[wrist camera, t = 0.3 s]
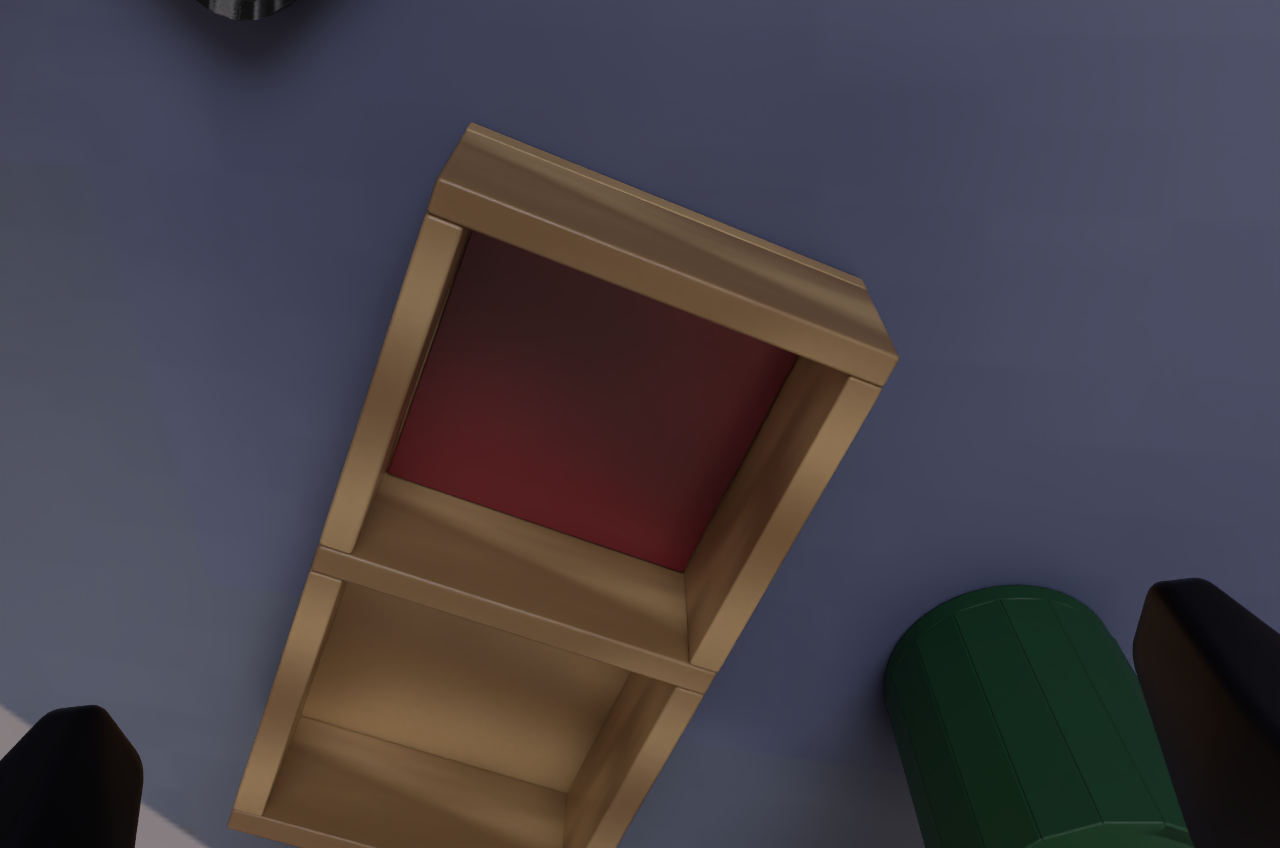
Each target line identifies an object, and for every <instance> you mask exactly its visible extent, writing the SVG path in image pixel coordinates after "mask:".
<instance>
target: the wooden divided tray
mask: <svg viewBox="0 0 1280 848" xmlns="http://www.w3.org/2000/svg"><path fill="white" fill-rule="evenodd" d="M427 209H428V211H427V213H426V215H425V216H424V219H423V223H422V226H421V229H420V232H419V235H418V238H417V241H416V244H415V247H414V250H413V253H412V256H411V260H410V263H409V266H408V269H407V272H406V275H405V278H404V281H403V284H402V287H401V290H400V294H399V297H398V300H397V303H396V306H395V309H394V312H393V315H392V318H391V321H390V324H389V328H388V331H387V334H386V337H385V340H384V343H383V346H382V349H381V352H380V355H379V358H378V362H377V365H376V368H375V371H374V374H373V377H372V380H371V383H370V386H369V389H368V392H367V395H366V399H365V402H364V405H363V408H362V411H361V414H360V417H359V420H358V423H357V426H356V429H355V433H354V436H353V439H352V442H351V445H350V448H349V451H348V454H347V457H346V460H345V463H344V467H343V470H342V473H341V476H340V479H339V482H338V485H337V488H336V491H335V494H334V497H333V500H332V504H331V507H330V510H329V513H328V516H327V519H326V522H325V525H324V528H323V531H322V534H321V538H320V542H319V545H318V547H317V550H316V553H315V556H314V559H313V562H312V565H311V569H310V571H309V574H308V577H307V580H306V583H305V587H304V590H303V593H302V596H301V599H300V602H299V605H298V608H297V611H296V614H295V617H294V621H293V624H292V627H291V630H290V633H289V636H288V639H287V642H286V645H285V648H284V651H283V655H282V658H281V661H280V664H279V667H278V670H277V673H276V676H275V679H274V682H273V685H272V689H271V692H270V695H269V698H268V701H267V704H266V707H265V710H264V713H263V716H262V719H261V723H260V726H259V729H258V732H257V735H256V738H255V741H254V744H253V747H252V750H251V753H250V756H249V760H248V763H247V766H246V769H245V772H244V775H243V778H242V781H241V784H240V787H239V790H238V794H237V797H236V800H235V803H234V806H233V809H232V812H231V815H230V818H229V821H228V825H227V826H228V828H230V829H233V830H237V831H241V832H245V833H248V834H252V835H256V836H259V837H263V838H267V839H271V840H274V841H278V842H282V843H286V844H289V845H293V846H297V847H300V848H616V847H617V845H618V844H619V842H620V840H621V838H622V837H623V835H624V833H625V831H626V830H627V828H628V826H629V825H630V823H631V821H632V819H633V818H634V816H635V814H636V812H637V811H638V809H639V807H640V806H641V804H642V802H643V800H644V799H645V797H646V795H647V793H648V792H649V790H650V788H651V787H652V785H653V783H654V781H655V780H656V778H657V776H658V775H659V773H660V771H661V769H662V768H663V766H664V764H665V762H666V761H667V759H668V757H669V756H670V754H671V752H672V750H673V749H674V747H675V745H676V743H677V742H678V740H679V738H680V737H681V735H682V733H683V731H684V730H685V728H686V726H687V724H688V723H689V721H690V719H691V718H692V716H693V714H694V712H695V711H696V709H697V707H698V706H699V704H700V702H701V700H702V699H703V697H704V694H705V693H706V691H707V690H708V688H709V686H710V685H711V683H712V681H713V679H714V678H715V676H716V672H719V670H720V668H721V667H722V665H723V663H724V661H725V660H726V658H727V656H728V654H729V653H730V651H731V649H732V648H733V646H734V644H735V642H736V641H737V639H738V637H739V635H740V634H741V632H742V630H743V629H744V627H745V625H746V623H747V622H748V620H749V618H750V617H751V615H752V613H753V611H754V610H755V608H756V606H757V604H758V603H759V601H760V599H761V598H762V596H763V594H764V592H765V591H766V589H767V587H768V586H769V584H770V582H771V580H772V579H773V577H774V575H775V573H776V572H777V570H778V568H779V567H780V565H781V563H782V561H783V560H784V558H785V556H786V554H787V553H788V551H789V549H790V548H791V546H792V544H793V542H794V541H795V539H796V537H797V536H798V534H799V532H800V530H801V529H802V527H803V525H804V523H805V522H806V520H807V518H808V517H809V515H810V513H811V511H812V510H813V508H814V506H815V504H816V503H817V501H818V499H819V498H820V496H821V494H822V492H823V491H824V489H825V487H826V486H827V484H828V482H829V480H830V479H831V477H832V475H833V473H834V472H835V470H836V468H837V467H838V465H839V463H840V461H841V460H842V458H843V456H844V454H845V453H846V451H847V449H848V448H849V446H850V444H851V442H852V441H853V439H854V437H855V436H856V434H857V432H858V430H859V429H860V427H861V425H862V423H863V422H864V420H865V418H866V417H867V415H868V413H869V411H870V410H871V408H872V406H873V404H874V403H875V401H876V399H877V398H878V396H879V394H880V392H881V390H882V388H881V386H883V385H884V384H885V383H886V381H887V379H888V377H889V376H890V374H891V372H892V371H893V369H894V367H895V365H896V364H897V362H898V360H899V356H898V354H897V352H896V350H895V348H894V345H893V343H892V341H891V339H890V337H889V335H888V333H887V331H886V329H885V327H884V325H883V323H882V321H881V319H880V316H879V314H878V312H877V310H876V308H875V306H874V304H873V302H872V300H871V298H870V296H869V294H868V292H867V291H866V290H867V288H866V286H865V284H864V282H863V280H862V279H860V278H857V277H855V276H852V275H850V274H847V273H845V272H843V271H840V270H838V269H835V268H833V267H830V266H828V265H825V264H823V263H820V262H818V261H815V260H813V259H810V258H808V257H805V256H803V255H800V254H798V253H795V252H793V251H790V250H788V249H785V248H783V247H780V246H778V245H775V244H773V243H770V242H768V241H766V240H763V239H761V238H758V237H756V236H753V235H751V234H748V233H746V232H743V231H741V230H738V229H736V228H733V227H731V226H728V225H726V224H723V223H721V222H718V221H716V220H713V219H711V218H708V217H706V216H703V215H701V214H698V213H696V212H694V211H691V210H689V209H686V208H684V207H681V206H679V205H676V204H674V203H671V202H669V201H666V200H664V199H661V198H659V197H656V196H654V195H651V194H649V193H646V192H644V191H641V190H639V189H636V188H634V187H631V186H629V185H626V184H624V183H621V182H619V181H617V180H614V179H612V178H609V177H607V176H604V175H602V174H599V173H597V172H594V171H592V170H589V169H587V168H584V167H582V166H579V165H577V164H574V163H572V162H569V161H567V160H564V159H562V158H559V157H557V156H554V155H552V154H549V153H547V152H545V151H542V150H540V149H537V148H535V147H532V146H530V145H527V144H525V143H522V142H520V141H517V140H515V139H512V138H510V137H507V136H505V135H502V134H500V133H497V132H495V131H492V130H490V129H487V128H485V127H482V126H480V125H477V124H475V123H470V124H469V125H468V127H467V129H466V130H465V133H464V134H463V136H462V138H461V139H460V141H459V143H458V144H457V146H456V148H455V149H454V151H453V153H452V154H451V156H450V158H449V159H448V161H447V163H446V164H445V166H444V168H443V169H442V171H441V173H440V174H439V176H438V178H437V179H436V182H435V185H434V189H433V192H432V195H431V198H430V201H429V204H428V207H427Z"/></svg>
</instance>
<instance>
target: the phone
mask: <svg viewBox="0 0 1280 848" xmlns="http://www.w3.org/2000/svg"><path fill="white" fill-rule="evenodd" d="M196 1H198V2H199V3H200V4H202V5H203V6H205V7H206V8H207V9H209V10H210V11H212V12H213V13H215V14H218V15H221V16H224V17H227V18H230V19H232V20H257V19H260V18H263V17H266V16H269V15H272V14H274V13H276V12H278V11H280V10H282V9H284V8H286V7H288V6H290V5H291V4H292V3H293V2H295V1H296V0H196Z"/></svg>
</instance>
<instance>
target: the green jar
mask: <svg viewBox="0 0 1280 848" xmlns="http://www.w3.org/2000/svg"><path fill="white" fill-rule="evenodd" d="M885 695H886V701H887V704H888V707H887V708H888V714H889V717H890V721H891V724H892V728H893V732H894V735H895V739H896V742H897V746H898V750H899V753H900V757H901V761H902V764H903V768H904V771H905V775H906V779H907V782H908V786H909V790H910V793H911V797H912V800H913V804H914V808H915V811H916V815H917V819H918V822H919V826H920V829H921V833H922V837H923V840H924V844H925V848H1195V847H1194V845H1193V843H1192V840H1191V838H1190V835H1189V832H1188V829H1187V826H1186V824H1185V821H1184V818H1183V815H1182V812H1181V809H1180V806H1179V803H1178V800H1177V797H1176V794H1175V791H1174V788H1173V784H1172V781H1171V778H1170V775H1169V772H1168V769H1167V766H1166V763H1165V760H1164V757H1163V753H1162V750H1161V747H1160V744H1159V741H1158V738H1157V735H1156V732H1155V729H1154V726H1153V722H1152V719H1151V716H1150V713H1149V710H1148V707H1147V704H1146V701H1145V698H1144V695H1143V691H1142V688H1141V685H1140V682H1139V679H1138V677H1137V676H1136V674H1135V672H1134V671H1133V669H1132V667H1131V665H1130V664H1129V662H1128V660H1127V659H1126V657H1125V655H1124V653H1123V652H1122V650H1121V648H1120V647H1119V645H1118V643H1117V641H1116V640H1115V639H1114V638H1113V637H1112V636H1111V635H1110V634H1109V632H1108V630H1107V629H1106V627H1105V625H1104V624H1103V622H1102V621H1101V620H1100V619H1099V617H1098V616H1097V615H1096V614H1095V613H1094V612H1093V611H1092V610H1090V609H1089V608H1088V607H1087V606H1086V605H1084V604H1083V603H1081V602H1079V601H1078V600H1076V599H1074V598H1073V597H1070V596H1068V595H1066V594H1063V593H1061V592H1058V591H1054V590H1051V589H1048V588H1042V587H1036V586H1027V585H1006V586H996V587H990V588H984V589H980V590H977V591H973V592H969V593H966V594H964V595H961V596H958V597H956V598H953V599H951V600H949V601H947V602H945V603H943V604H941V605H940V606H938V607H936V608H935V609H933V610H932V611H930V612H928V613H927V614H926V615H925V616H923V617H922V618H921V619H920V620H918V621H917V622H916V623H915V624H914V625H913V626H912V627H911V628H910V629H909V630H908V631H907V632H906V634H905V635H904V636H903V637H902V639H901V640H900V641H899V643H898V645H897V646H896V648H895V650H894V652H893V653H892V656H891V658H890V661H889V664H888V667H887V671H886V676H885Z"/></svg>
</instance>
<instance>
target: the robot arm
mask: <svg viewBox="0 0 1280 848" xmlns="http://www.w3.org/2000/svg"><path fill="white" fill-rule="evenodd" d="M1133 660H1134V665H1135V669H1136V673H1137V676H1138V679H1139V682H1140V685H1141V688H1142V691H1143V695H1144V698H1145V701H1146V704H1147V707H1148V710H1149V713H1150V716H1151V719H1152V722H1153V726H1154V729H1155V732H1156V735H1157V738H1158V741H1159V744H1160V747H1161V750H1162V753H1163V757H1164V760H1165V763H1166V766H1167V769H1168V772H1169V775H1170V778H1171V781H1172V784H1173V788H1174V791H1175V794H1176V797H1177V800H1178V803H1179V806H1180V809H1181V812H1182V815H1183V818H1184V821H1185V824H1186V826H1187V829H1188V832H1189V835H1190V838H1191V840H1192V843H1193V845H1194V847H1195V848H1280V634H1279V633H1277V632H1276V631H1275V630H1273V629H1272V628H1271V627H1269V626H1268V625H1267V624H1265V623H1264V622H1263V621H1262V620H1260V619H1259V618H1258V617H1256V616H1255V615H1254V614H1252V613H1251V612H1250V611H1248V610H1247V609H1246V608H1244V607H1243V606H1242V605H1240V604H1239V603H1238V602H1236V601H1235V600H1234V599H1232V598H1231V597H1230V596H1228V595H1227V594H1226V593H1225V592H1223V591H1222V590H1221V589H1219V588H1218V587H1217V586H1215V585H1214V584H1212V583H1211V582H1209V581H1206V580H1204V579H1201V578H1187V579H1178V580H1170V581H1161V582H1157V583H1155V584H1154V585H1153V586H1152V587H1151V588H1149V590H1148V593H1147V595H1146V599H1145V602H1144V606H1143V609H1142V613H1141V616H1140V619H1139V623H1138V626H1137V630H1136V633H1135V637H1134V641H1133ZM142 788H143V766H142V762H141V759H140V756H139V754H138V753H137V751H136V750H135V748H134V747H133V746H132V744H131V743H130V742H129V740H128V739H127V738H126V736H125V735H124V733H123V732H122V731H121V729H120V728H119V727H118V725H117V724H116V723H115V721H114V720H113V719H112V717H111V716H110V715H109V713H108V712H107V711H106V710H105V709H103V708H102V707H99V706H97V705H86V706H77V707H68V708H60V709H56V710H53V711H51V712H49V713H47V714H46V715H45V716H43V717H42V718H41V719H40V720H39V721H38V722H37V723H36V724H35V725H34V726H33V727H32V728H31V729H30V730H29V731H28V732H27V733H26V734H25V735H24V736H23V737H22V739H21V740H20V741H19V742H18V743H17V744H16V745H15V746H14V747H13V748H12V749H11V750H10V751H9V752H8V753H7V754H6V755H5V756H4V757H3V759H2V760H1V761H0V848H135V840H136V832H137V826H138V818H139V810H140V803H141V796H142Z"/></svg>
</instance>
